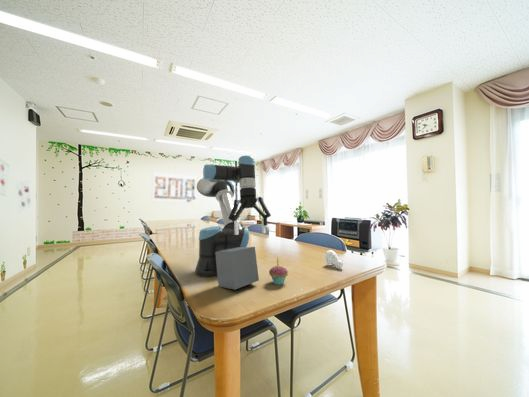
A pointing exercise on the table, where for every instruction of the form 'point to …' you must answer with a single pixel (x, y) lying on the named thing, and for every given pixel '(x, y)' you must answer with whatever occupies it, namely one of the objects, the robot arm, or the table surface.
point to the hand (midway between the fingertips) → (250, 234)
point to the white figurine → (333, 259)
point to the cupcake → (278, 274)
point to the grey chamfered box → (236, 267)
